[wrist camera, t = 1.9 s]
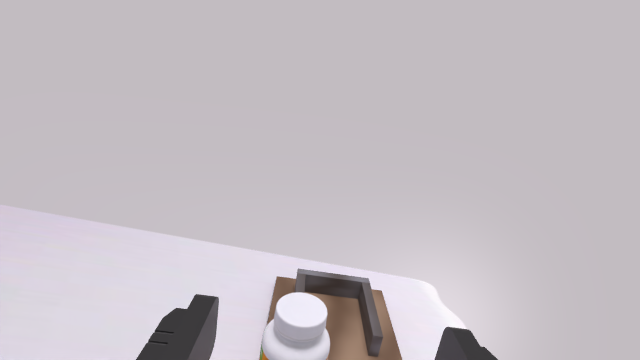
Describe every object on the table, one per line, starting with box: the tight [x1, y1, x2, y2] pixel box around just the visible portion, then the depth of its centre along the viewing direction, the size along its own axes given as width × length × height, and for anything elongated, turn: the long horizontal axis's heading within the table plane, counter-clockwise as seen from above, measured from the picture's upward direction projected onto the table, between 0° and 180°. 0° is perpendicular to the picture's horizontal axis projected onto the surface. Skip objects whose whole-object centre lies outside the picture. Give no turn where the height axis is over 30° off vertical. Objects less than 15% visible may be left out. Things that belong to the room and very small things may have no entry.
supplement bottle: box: [259, 292, 330, 360], centre depth 27 cm, size 5×5×10 cm
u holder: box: [267, 269, 402, 360], centre depth 38 cm, size 14×13×4 cm
